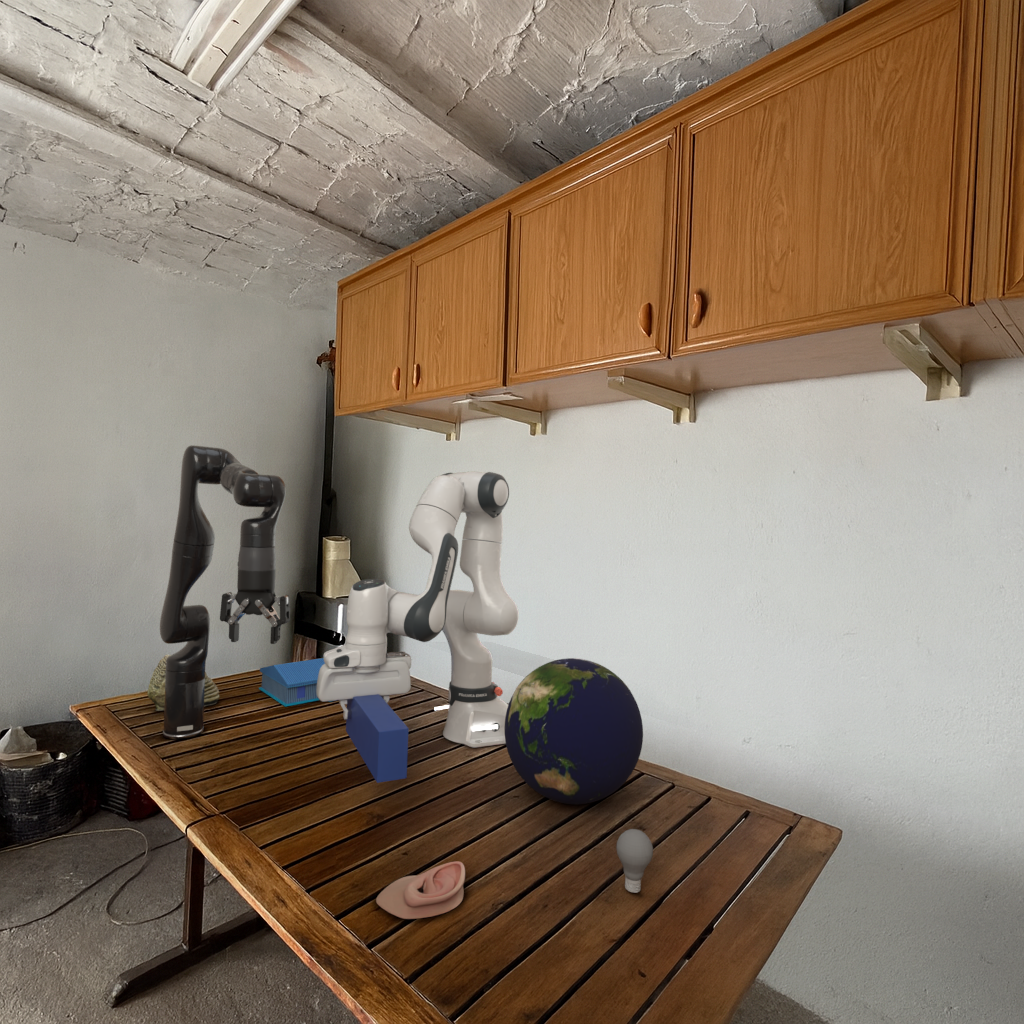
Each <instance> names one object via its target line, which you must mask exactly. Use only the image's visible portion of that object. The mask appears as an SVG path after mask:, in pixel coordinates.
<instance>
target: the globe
mask: <svg viewBox="0 0 1024 1024" xmlns="http://www.w3.org/2000/svg"><path fill="white" fill-rule="evenodd" d="M510 697H511V698H510V700H509V702H508V703H509V705H508V708H507V712H506V717H505V727H504V731H505V742H506V744H505V747H506V750H507V754H508V756H509V759H510V761H511V763H512V765H513V768H514V769H515V770H516V772H517V774H518V775H519V777H520V778H521V779H522V780H523V782H525V783H526V785H527V786H528V787H529V788H531V789H532V790H533V791H535V792H536V793H537V794H539V795H541V796H542V797H545V798H547V799H549V800H551V801H554V802H555V803H556V802H557V803H560V804H563V805H564V804H566V805H587V804H591V803H595V802H598V801H601V800H603V799H605V798H606V797H609V796H611V795H613V793H615V792H617V791H618V790H619V789H620V788H621V787H622V786H623V785H625V783H626V782H627V780H628V779H629V778H630V777H631V775H632V774H633V772H634V770H635V768H636V767H637V764H638V763H639V759H640V757H641V753H642V749H643V741H644V726H643V719H642V714H641V710H640V708H639V705H638V702H637V701H636V699H635V697H634V694H633V693H632V691H631V689H630V688H629V686H628V685H627V684H626V683H625V682H624V681H623V680H622V678H620V677H619V675H617V674H616V673H614V672H613V671H612V670H611V669H609V668H607V667H606V666H604V665H602V664H600V663H598V662H595V661H591V660H589V659H583V658H577V657H572V658H571V657H570V658H569V657H567V658H561V659H555V660H552V661H549V662H546V663H544V664H542V665H540V666H538V667H536V668H535V669H533V670H532V671H531V672H530V673H528V674H527V675H526V676H525V677H524V678H523V679H522V680H521V681H520V682H519V683H518V685H517V686H516V687H515V690H514V691H513V694H512V696H510Z"/></svg>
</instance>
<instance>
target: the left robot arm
mask: <svg viewBox="0 0 1024 1024" xmlns="http://www.w3.org/2000/svg"><path fill="white" fill-rule="evenodd" d="M199 484H201V485H202V484H203V485H204V484H205V485H215V486H216V485H221V487H222V488H223V489H224V490H225V491H226V493H229V494H231V495H232V497H233V500H234V502H235V504H237V505H239V506H241V507H246V508H263V510H262V512H261V513H260V514H259V515H258V516H255V517H249V518H245V519H243V520H242V522H241V523H240V539H239V551H238V557H237V559H238V560H237V587H236V588H237V591H236V593H233V592H231V591H228V592H225V593H222V595H221V601H220V612H219V621H220V622H225V623H226V624H228V639H229V640H230V642H231V643H237V642H238V641H239V639H240V623H239V622H240V620H241V619H242V618H243V616H245V615H248V616H250V615H256V616H262V615H263V616H264V618H265V619H266V620H268V622H269V623H270V625H271V627H270V639H269V640H270V645H275V644H277V643H278V641H280V640H281V629H282V625H285V624H287V623H289V622H290V621H291V605H290V603H291V602H290V601H291V600H290V595H289V594H284V595H276V593H275V591H276V590H275V589H276V570H277V569H276V567H277V554H276V535H277V533H276V532H277V525H278V522H279V518H280V515H281V511H282V509H283V506H284V503H285V501H286V496H287V487H286V484H285V481H284V479H282V477H280V476H278V475H276V474H275V475H273V474H260V473H258V472H257V471H256V470H254V469H252V468H250V467H249V466H245V465H244V464H242V462H240V461H239V460H238V459H237V457H236V456H235V455H233V453H232V452H230V451H228V450H227V449H224V448H221V447H212V446H204V445H196V444H194V445H188V446H187V447H186V448H185V450H184V452H183V455H182V461H181V471H180V489H179V502H178V511H177V517H176V525H175V530H174V535H173V542H172V551H171V558H170V559H171V560H170V568H169V569H170V570H169V577H168V583H167V588H166V592H165V596H164V600H163V604H162V609H161V614H160V618H159V636H160V638H161V640H162V641H163V642H164V644H169V645H172V644H180V643H181V644H183V643H186V644H185V645H184V646H183V647H182V648H181V649H180V650H178V651H176V652H174V653H172V654H170V655H171V656H169V657H168V658H167V660H166V674H165V705H164V710H163V730H162V737H164V738H166V739H169V740H185V739H190V738H191V739H192V738H194V737H197V736H199V735H202V734H203V732H204V730H205V729H204V727H205V725H204V722H205V721H204V718H205V706H204V693H205V672H206V664H207V663H206V662H207V658H208V653H209V652H208V651H209V641H210V640H209V639H210V631H211V617H210V613H209V610H208V608H207V607H206V606H205V605H203V604H192V605H191V604H190V605H185V602H186V599H187V596H188V594H189V592H190V591H191V589H192V587H193V586H195V584H196V582H197V581H198V580H199V579H200V578H201V576H202V575H203V574H204V573H205V571H206V570H207V569H208V567H209V565H210V564H211V562H212V560H213V553H214V547H215V540H216V535H215V531H214V529H213V526H212V525H211V522H210V520H209V519H208V517H207V516H206V513H205V512H204V510H203V508H202V505H201V503H200V499H199V492H198V491H199V490H198V489H199ZM234 602H236V603H237V604H238V607H237V608H236V609H235V611H234V612H233V613H232V609H233V608H232V606H233V604H234ZM275 603H276V604H277V606H278V607H279V615H278V612H277V610H276V609H275V607H274V604H275Z"/></svg>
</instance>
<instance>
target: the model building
mask: <svg viewBox="0 0 1024 1024" xmlns="http://www.w3.org/2000/svg"><path fill="white" fill-rule="evenodd" d="M387 652H388V651H387ZM387 652H386V653H387ZM324 664H325V662H324V658H323V657H321V658H315V659H314V658H313V659H307V660H300V661H293V662H287V663H278V664H272V665H268V666H264V667H263V666H262V667H260V668H259V672H260V673H261V686H260V687H258V690H260V691H261V692H262V693H264V694H265V695H267V696H268V697H270V698H271V699H273V700H274V701H276V702H277V703H279V704H280V705H282V706H283V707H290V706H297V705H302V704H307V703H312V702H317V701H320V700H319V698H318V697H317V695H316V688H317V680H318V674H319V671H320V668H321V667H322V665H324ZM336 701H338V700H336ZM328 702H329V703H330V702H332V701H328Z"/></svg>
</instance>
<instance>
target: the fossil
mask: <svg viewBox="0 0 1024 1024" xmlns="http://www.w3.org/2000/svg"><path fill="white" fill-rule="evenodd" d="M171 655H172V654H165V655H164V656H163V657H162V658H161V659H160V660H159V662H158V663H157V666H156V667H155V669H154V670H153V672H152V675H151V677H150V680H149V684H148V688H147V697H148V699H149V700H150V701H152V703H153V704H154V706H155V711H158V712H159V711H162V712H163V711H164V705H165V674H166V660H167V658H168V657H169V656H171ZM220 698H221V696H220V690H219V688H218V686H217V685H216V683H215V682H214V681H213V679H212V678H211V677H209V675H208V674H207V672H206V671H205V693H204V707H207V706H213V705H215V704H217V703H218V701H219V699H220Z"/></svg>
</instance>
